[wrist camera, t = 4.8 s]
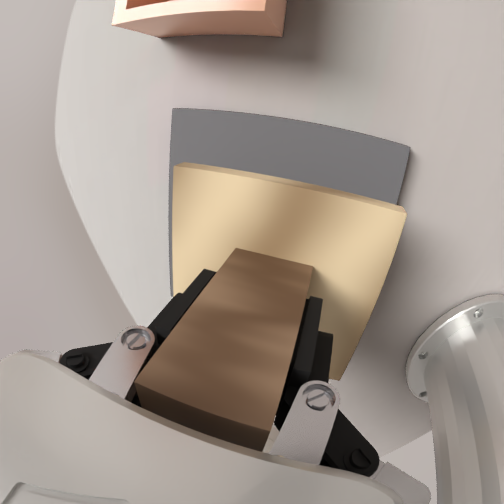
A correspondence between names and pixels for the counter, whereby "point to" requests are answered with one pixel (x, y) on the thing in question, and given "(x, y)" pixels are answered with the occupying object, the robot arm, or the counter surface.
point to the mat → (286, 153)
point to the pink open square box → (201, 17)
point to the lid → (261, 292)
